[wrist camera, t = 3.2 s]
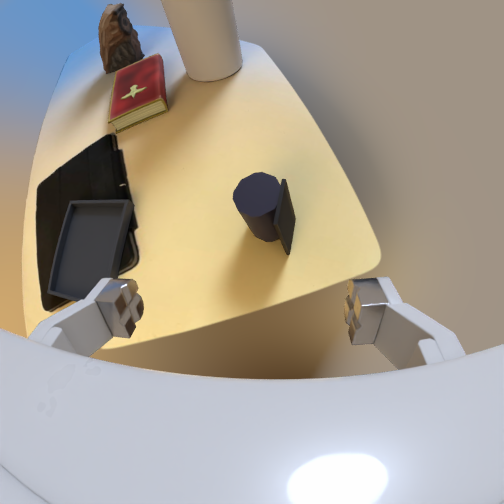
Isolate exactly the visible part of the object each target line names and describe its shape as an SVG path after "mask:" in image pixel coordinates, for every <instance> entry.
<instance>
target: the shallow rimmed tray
mask: <svg viewBox="0 0 504 504" xmlns="http://www.w3.org/2000/svg"><path fill="white" fill-rule="evenodd" d="M133 209H134V204H133V203H132V202H131V201H130V200H79V201H70V203H69V206H68V209H67V212H66V216H65V219H64V222H63V226H62V229H61V233H60V236H59V240H58V244H57V248H56V252H55V256H54V261H53V265H52V270H51V275H50V280H49V286H48V292H47V293H49V294H52V295H55V296H59V297H62V298H65V299H69V300H72V301H76V302H78V301H80V300H84V299H85V298H86V297H87V295H88V294H89V293H90V292H91V291H92V289H93V288H94V287H95V286H96V285H97V283H98V282H99V281H100V280H101V279H102V278H118V273H119V267H120V263H121V258H122V253H123V249H124V244H125V240H126V236H127V232H128V228H129V224H130V220H131V216H132V212H133Z"/></svg>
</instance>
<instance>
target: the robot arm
mask: <svg viewBox="0 0 504 504" xmlns="http://www.w3.org/2000/svg"><path fill="white" fill-rule="evenodd" d="M347 290H348V293H349V295H348V297H347V298H346V299H345V306H344V314H345V320H346V323H347V324H348V325H349V326H350V327H349V336H350V340H351V344H352V345H363V344H374V346H376V348H377V349H378V350H379V351H380V352H381V353H382V354H384V355H385V357H386V358H387V359H388V360H389V361H390V362H391V363H392V364H393V365H394V366H395V367H396V368H397V369H398V370H395V371H388V372H381V373H373V374H366V375H356V376H347V377H335V378H317V379H287V380H286V379H283V380H282V379H280V380H277V379H274V380H272V379H269V380H268V379H267V380H266V379H237V378H219V377H207V376H196V375H186V374H177V373H170V372H162V371H156V370H150V369H143V368H137V367H132V366H127V365H122V364H117V363H112V362H107V361H103V360H98V359H94V358H90V357H89V356H91V355H92V354H93V353H94V352H96V351H97V350H98V349H99V348H100V347H102V346H103V345H104V344H105V343H107V342H108V341H109V340H110V339H111V338H113V336H114V337H122V338H130V337H131V335H132V333H133V332H134V330H135V328H136V325H135V322H137V321H139V320H140V319H141V317H142V315H143V310H144V305H143V300H142V297H141V296H140V295H139V294H138V293H137V291H138V286H137V283H136V281H134V280H133V279H119V278H102V279H101V280H100V281H99V282H98V283H97V285H96V286H95V287H94V288H93V289H92V291H91V292H90V293H89V294H88V295H87V297H86V298H85V299H84V300H80V301H78V302H76V303H74V304H72V305H70V306H69V307H67V308H65V309H63V310H61V311H59V312H58V313H56V314H54V315H52V316H50V317H49V318H47V319H45V320H43V321H41V322H40V323H39V324H38V326H37V327H36V328H35V330H34V331H33V332H32V333H31V335H30V336H29V337H28V339H27V338H24V337H22V336H19V335H16V334H14V333H11V332H8V331H6V330H4V329H1V328H0V504H504V344H502V345H498V346H495V347H492V348H489V349H486V350H483V351H480V352H476V353H473V354H469V355H466V354H465V352H464V350H463V348H462V346H461V345H460V343H459V341H458V339H457V337H456V335H455V333H453V332H452V331H450V330H449V329H447V328H446V327H444V326H443V325H441V324H439V323H438V322H436V321H435V320H433V319H432V318H430V317H428V316H427V315H425V314H424V313H422V312H420V311H419V310H417V309H416V308H414V307H412V306H410V305H409V304H408V303H403V302H402V300H401V298H400V296H399V294H398V292H397V291H396V289H395V287H394V285H393V283H392V282H391V280H390V278H389V277H377V278H366V279H349V282H348V287H347Z"/></svg>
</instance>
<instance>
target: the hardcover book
mask: <svg viewBox="0 0 504 504" xmlns="http://www.w3.org/2000/svg"><path fill="white" fill-rule="evenodd" d="M167 111H168V108H167V99H166V89H165V78H164V66H163V59H162V57H161V55H160V54H159V53H157V54H155V55H152V56H150V57H147V58H145V59H142V60H140V61H138V62H135V63H133V64H131V65H129V66H127V67H124V68H122V69H120V70H118V71H116V73H115V78H114V83H113V89H112V95H111V102H110V109H109V117H108V123H112V124H113V125H114V127H115V128H116V134H117V133H119V132H121V131H123V130H126V129H128V128H130V127H132V126H134V125H137V124H139V123H141V122H144V121H146V120H148V119H151V118H153V117H156V116H158V115H161V114H164V113H166V112H167Z"/></svg>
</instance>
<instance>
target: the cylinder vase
mask: <svg viewBox="0 0 504 504" xmlns="http://www.w3.org/2000/svg"><path fill="white" fill-rule="evenodd" d="M161 2H162V5H163V8H164V10H165V13H166V16H167V19H168V21H169V24H170V27H171V30H172V32H173V35H174V38H175V41H176V44H177V46H178V49H179V52H180V55H181V57H182V60H183V63H184V66H185V68H186V71H187V74H188V75H189V77H190V78H192V79H194V80H197V81H203V82H209V81H216V80H220V79H223V78H226V77H228V76H230V75H232V74H234V73H235V72H236V71H238V70H239V68H240V67H241V65H242V54H241V48H240V43H239V37H238V31H237V26H236V20H235V14H234V9H233V3H232V0H161Z"/></svg>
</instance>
